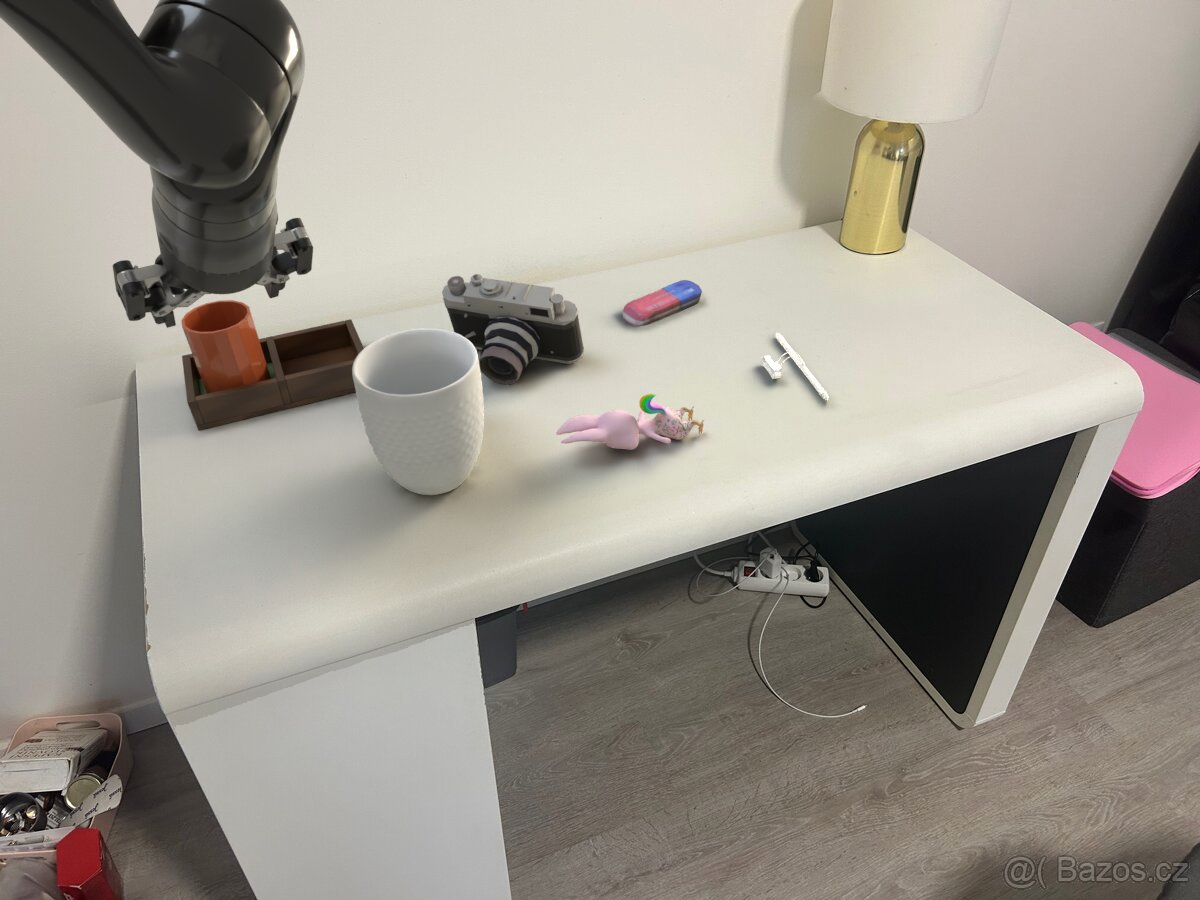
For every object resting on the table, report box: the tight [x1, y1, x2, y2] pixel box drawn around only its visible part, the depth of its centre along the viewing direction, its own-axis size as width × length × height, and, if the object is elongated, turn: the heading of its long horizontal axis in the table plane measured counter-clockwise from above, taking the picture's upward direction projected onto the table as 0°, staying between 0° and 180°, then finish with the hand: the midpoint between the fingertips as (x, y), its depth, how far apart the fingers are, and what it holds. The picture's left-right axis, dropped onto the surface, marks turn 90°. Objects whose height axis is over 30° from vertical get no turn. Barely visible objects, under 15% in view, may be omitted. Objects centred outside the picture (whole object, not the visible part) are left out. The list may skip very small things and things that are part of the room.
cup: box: [180, 299, 271, 394], centre depth 89 cm, size 7×7×9 cm
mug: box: [352, 327, 485, 496], centre depth 79 cm, size 15×11×13 cm
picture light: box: [760, 332, 830, 402], centre depth 95 cm, size 14×4×2 cm, turn 14°
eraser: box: [622, 279, 703, 327], centre depth 106 cm, size 11×4×2 cm, turn 127°
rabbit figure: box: [555, 393, 706, 450], centre depth 83 cm, size 6×6×15 cm
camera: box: [441, 273, 585, 385], centre depth 93 cm, size 16×9×10 cm, turn 73°
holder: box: [181, 318, 365, 431], centre depth 93 cm, size 18×10×4 cm, turn 114°
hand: (218, 301), depth 72 cm, fingers open, 8 cm apart
